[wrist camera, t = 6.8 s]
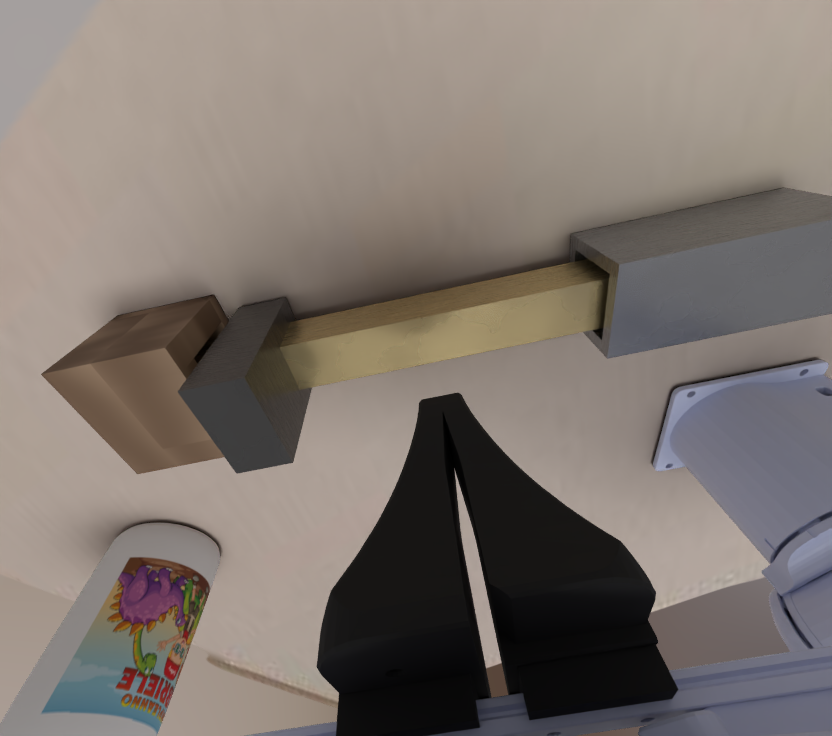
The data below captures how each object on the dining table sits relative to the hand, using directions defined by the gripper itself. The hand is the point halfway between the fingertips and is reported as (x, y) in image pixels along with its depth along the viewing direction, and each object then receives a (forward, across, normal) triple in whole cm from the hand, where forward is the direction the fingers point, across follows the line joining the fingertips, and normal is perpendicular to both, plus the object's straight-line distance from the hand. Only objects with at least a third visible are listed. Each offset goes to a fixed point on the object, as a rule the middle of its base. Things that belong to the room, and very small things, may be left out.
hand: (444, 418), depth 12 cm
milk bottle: (+9, +23, +16) cm, 30 cm away
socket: (+8, +12, 0) cm, 15 cm away
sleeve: (+9, -13, 0) cm, 15 cm away
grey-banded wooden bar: (+8, +2, 0) cm, 8 cm away
